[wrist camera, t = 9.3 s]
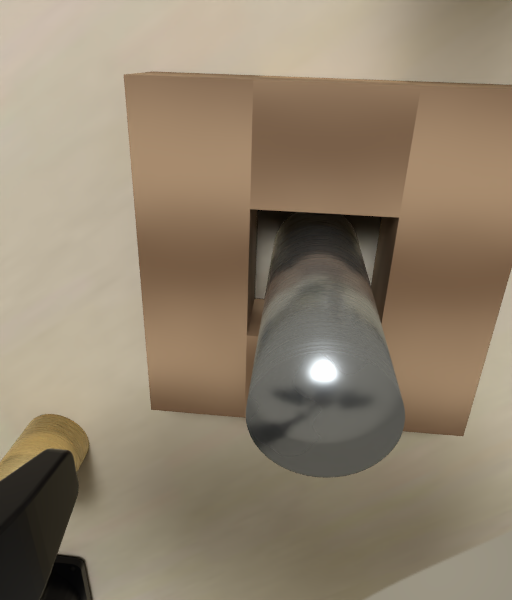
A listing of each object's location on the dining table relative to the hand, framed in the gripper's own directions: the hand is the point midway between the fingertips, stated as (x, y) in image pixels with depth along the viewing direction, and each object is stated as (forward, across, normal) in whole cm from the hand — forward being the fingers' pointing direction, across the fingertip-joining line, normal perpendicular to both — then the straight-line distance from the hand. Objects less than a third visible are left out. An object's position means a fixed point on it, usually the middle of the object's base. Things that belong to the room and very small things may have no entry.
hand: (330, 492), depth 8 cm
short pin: (+12, +12, +11) cm, 20 cm away
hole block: (+12, 0, 0) cm, 12 cm away
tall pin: (+12, 0, 0) cm, 12 cm away
